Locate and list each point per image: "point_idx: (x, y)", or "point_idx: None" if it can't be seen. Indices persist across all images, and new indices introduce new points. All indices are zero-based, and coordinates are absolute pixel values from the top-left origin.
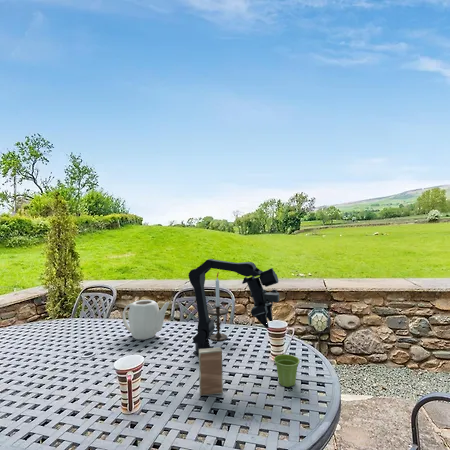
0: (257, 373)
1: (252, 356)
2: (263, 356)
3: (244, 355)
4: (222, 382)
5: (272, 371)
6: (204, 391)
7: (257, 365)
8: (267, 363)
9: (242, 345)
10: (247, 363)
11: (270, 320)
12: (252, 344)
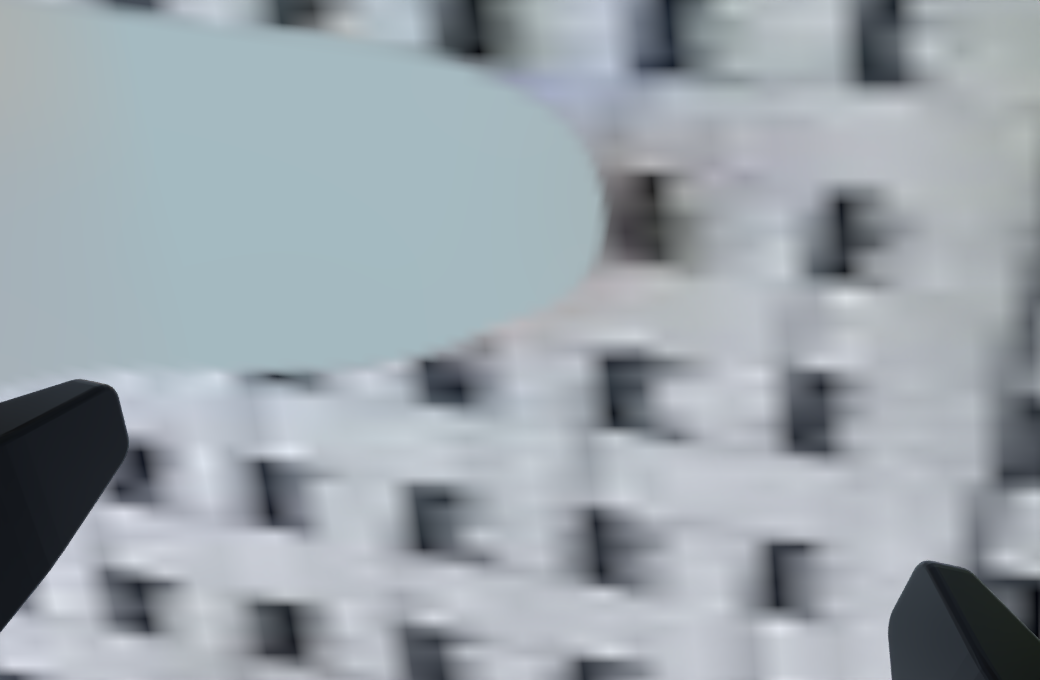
0: (955, 473)
1: (459, 535)
2: (440, 400)
3: (443, 628)
4: None
5: (886, 282)
6: None
7: (717, 473)
8: (646, 348)
9: (160, 652)
10: (670, 593)
11: (95, 461)
12: (107, 536)
